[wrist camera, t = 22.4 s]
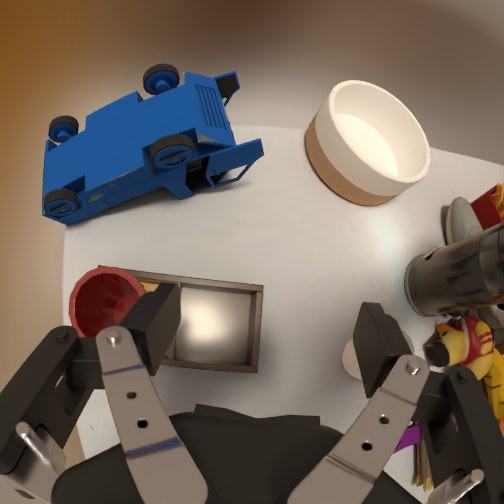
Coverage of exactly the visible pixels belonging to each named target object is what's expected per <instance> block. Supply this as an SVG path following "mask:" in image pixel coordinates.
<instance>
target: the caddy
mask: <svg viewBox="0 0 504 504" xmlns="http://www.w3.org/2000/svg"><path fill="white" fill-rule="evenodd" d="M99 267H103V266H100V265H98V268H99ZM105 267H107V266H105ZM120 269H122V268H120ZM122 270H124V271H125V272H127V273H129V274H131V275H132V276H134V277H135V278H136V279H137V280H138V281H139V282H140V283H141V284H143V285H144V286H145V287H146V288H147V289H148V290H149V291H153V292H154V291H155V289H156V288H157V287H158V285H159V284H160V283H161V282H168V283H175V284H178V285H179V289H180V304H181V322H180V325H179V328H178V330H177V332H176V334H175V336H174V338H173V340H172V342H171V344H170V346H169V348H168V350H167V352H166V354H165V356H164V358H163V360H162V362H161V364H160V365H167V366H175V367H183V368H193V369H203V370H215V371H228V372H246V373H257V372H258V367H257V366H258V358H259V345H260V331H261V316H262V302H263V287H264V286H263V285H255V284H246V283H236V282H227V281H218V280H209V279H200V278H192V277H183V276H175V275H167V274H159V273H151V272H144V271H136V270H129V269H122Z"/></svg>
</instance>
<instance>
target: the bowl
mask: <svg viewBox="0 0 504 504" xmlns="http://www.w3.org/2000/svg"><path fill="white" fill-rule="evenodd" d="M306 147H307V153H308V155H309V158H310V161H311V163H312V165H313V166H314V168H315V170H316V172H317V173H318V174H319V176H320V177H321V178H322V180H323V181H324V182H325V183H326V184H327V185H328V186H329V187H330V188H331V189H332V190H334V191H335V192H336V193H338V194H339V195H341V196H342V197H344V198H346V199H348V200H350V201H351V202H354V203H358V204H361V205H368V206H374V205H381V204H383V203H385V202H387V201H389V200H391V199H392V198H394V197H395V196H397V195H398V194H400V193H402V192H403V191H405V190H406V189H408V188H409V187H411V186H413V185H414V184H416V183H417V182H419V181H420V180H421V179H422V178H423V177H424V176H425V175H426V173H427V172H428V170H429V166H430V161H431V160H430V149H429V144H428V141H427V138H426V136H425V134H424V132H423V130H422V128H421V126H420V124H419V123H418V121H417V120H416V118H415V117H414V116H413V115H412V113H411V112H410V111H409V110H408V108H407V107H406V106H405V105H404V104H402V103H401V102H400V101H399V100H398V99H397V98H395V97H394V96H393V95H392V94H390V93H388V92H387V91H385V90H384V89H382V88H380V87H378V86H376V85H373V84H370V83H367V82H364V81H357V80H352V81H345V82H341V83H340V84H338V85H336V86H335V87H334V88H333V89H332V91H331V92H330V94H329V95H328V97H327V98H326V100H325V101H324V103H323V104H322V106H321V107H320V109H319V110H318V112H317V114H316V115H315V117H314V118H313V120H312V122H311V123H310V124H309V127H308V129H307V132H306Z"/></svg>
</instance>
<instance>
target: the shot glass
mask: <svg viewBox="0 0 504 504" xmlns="http://www.w3.org/2000/svg"><path fill="white" fill-rule="evenodd" d="M401 331H402V330H401ZM402 333H403V337H405V339H406V341H407V343H408V345H409V347H410V349H411V351H412V354H413V355H414V347H413V344H412V341H411V339H410V338H409V336H408V335H407V334H406V333H405V332H404V331H402ZM342 363H343V366H344V369H345V370H346V372H347V373H348V374H349V375H351V376H353V377H356V378H358V379H360V380H362V377H361V373H360V369H359V365H358V361H357V357H356V353H355V349H354V346H353V338H352V339H350V340H349V342H348V343H347V344H346V345H345V348H344V350H343V353H342Z"/></svg>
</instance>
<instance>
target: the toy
mask: <svg viewBox="0 0 504 504" xmlns="http://www.w3.org/2000/svg"><path fill="white" fill-rule="evenodd" d="M437 330H438V332H439V333H440V335H439V336H438V337H437V338H436V339H435V341H434V342H431V343H429V344H428V345H427V355H428V358H429V360H430V361H431V362H432V363H433V364H434V365H435V366H436V367H447V366H452V365H455V364H457V363H458V364H459V365H463V366H466V367H468V368H469V369H471V370H472V371H473V372H474V373H475V375H476V377H477V379H478V380H480V379H481V378H483V377H484V376H485V375H486V374H487V372H488V371H489V369H490V367H491V365H492V362H493V357H494V343H493V336H492V332H491V330H490V328H489V326H488V325H487V324H486V323H484V322H483V321H482V320H481V319H479V318H478V317H476V316H472V315H469V316H463V317H461V318H460V319H459V320H458V321H457V322H456V324H455V326H454V328H453V327H452V326H448V325H447V324H445V323H440V324H439V325H438V327H437Z"/></svg>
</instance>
